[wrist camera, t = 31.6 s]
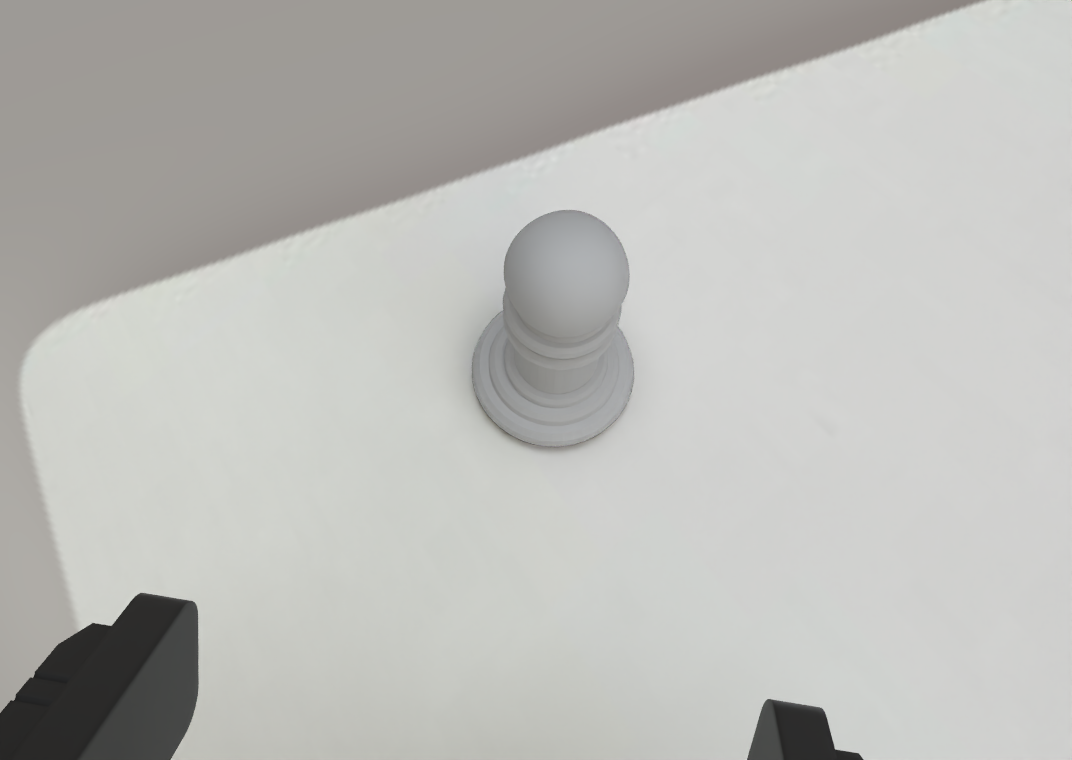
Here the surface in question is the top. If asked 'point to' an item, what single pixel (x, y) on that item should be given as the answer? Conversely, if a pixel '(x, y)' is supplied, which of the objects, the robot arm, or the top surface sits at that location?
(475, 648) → the top surface
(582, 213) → the chess piece
